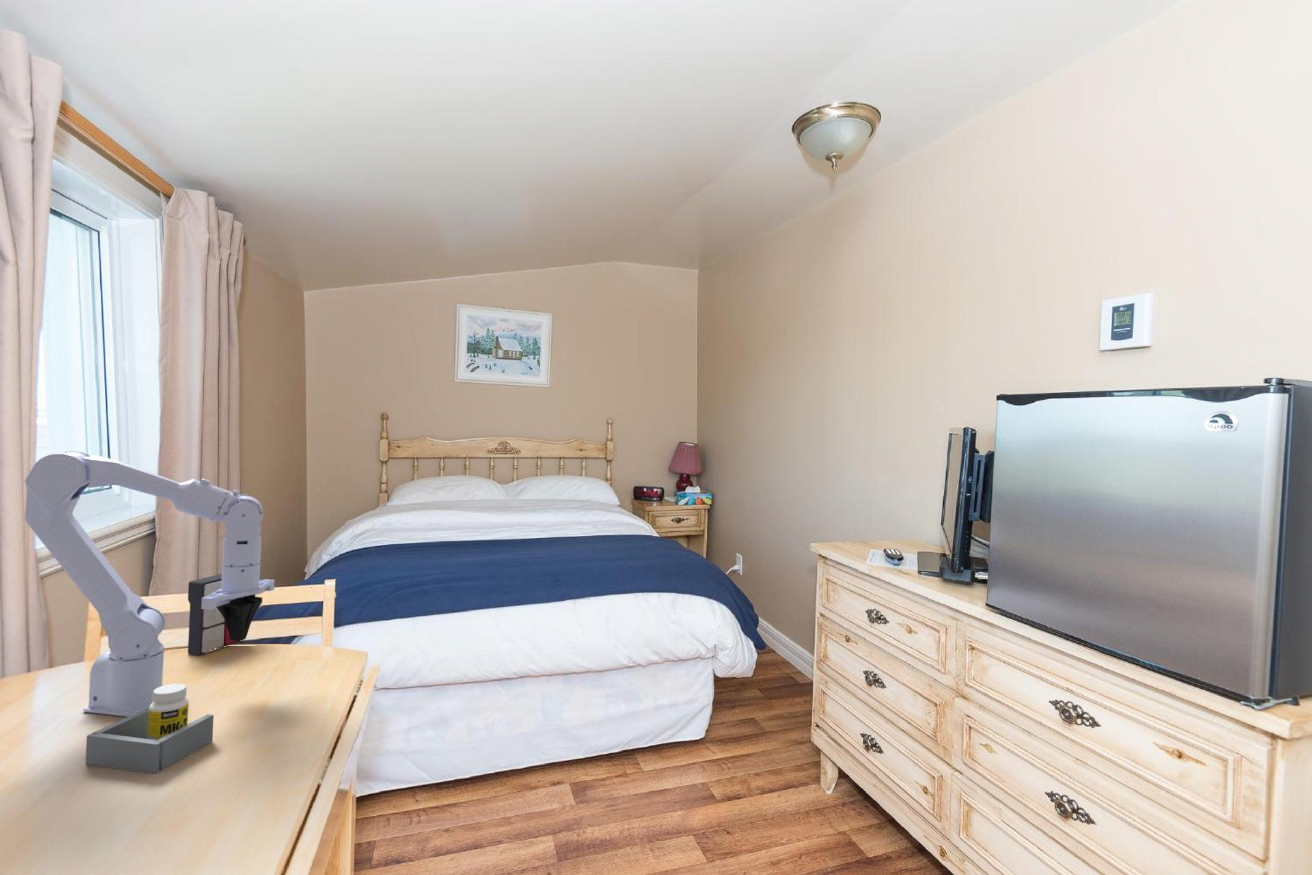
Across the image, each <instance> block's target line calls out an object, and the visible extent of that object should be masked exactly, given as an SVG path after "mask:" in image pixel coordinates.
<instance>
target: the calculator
mask: <svg viewBox="0 0 1312 875" xmlns="http://www.w3.org/2000/svg"><path fill="white" fill-rule="evenodd" d="M221 584H222V573H220V574H216V575H215V574H214V575H212V576H207V577H203V578H198V579H194V580H190V581H189V582H188V589H187V590H188V591H187V601H188V603H189V620H188V640H187V643H188V644H187V653H188V654H189V655H193V656H203V655H206V654H205V652H208V651H210V650H214V649H215V648H216V649H217V648H220V649H223V648H225V647H228V646H231V645H232V644H236V643H238V642H240V641H235V640H230V636H229V632H228V629H227V625H226V622H225V620H224V618H223V616H222V614H221V613H220V611H219V610H218V608H217V607H216V609H213V610H209V609H201V605H202V598H203V597H206V596H208V595H210V594H212V593H214V592H216V591H218V590H220V589H221ZM217 650H218V649H217ZM214 651H215V650H214ZM202 654H203V655H202Z"/></svg>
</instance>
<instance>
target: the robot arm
mask: <svg viewBox="0 0 1312 875" xmlns="http://www.w3.org/2000/svg"><path fill="white" fill-rule="evenodd" d="M24 482H25V487H26V498H25V499H26V500H25V501H26V502H25V515H24V516H25V517H24V518H25V521H26V523H27V525H28V526H29V528H30V529H31V530H32V532H34V534H35V535H36V537H37V538H38V539H39V540H40V542H41V543H42V544H43V545H44V546H45V548H46V549H47V550H48V551H49V553H50V554H51V555H52V556H53V558H54V559H55V560H56V562H57V563H58V564H59V565H60V566H61V568H62V569H63V570H64V572H66V573H65V574H67V575H68V576H69V578H70V579H71V580H72V582H73V583H74V584H75V585H76V587H77V588H78V589H79V590H80V592H81V593H82V594H83V595H84V597H85V598H86V599H87V601H89V603H90V604H91V605H92V607H93V608H94V610H96V612H97V613H98V618H99V622H100V625H101V628H102V629H103V630H104V632H105V633H106V634H107V640H108V641H107V643H108V648H109V650H107V651H106V652H104V653H102V654H101V655H99V656H98V657H96V659H95V661H94V662H93V664H92V665H91V669H90V672H89V687H88V689H89V691H88V692H89V693H88V706H85V707H84V708H82V710H83V712H85V713H95V714H100V715H101V714H102V715H103V714H104V715H109V716H118V717H125V718H127V717H129V716H131V715H134V714H136V713H138V712H140V711H142V710H145V709H147V708H149V706H150V705H151V704H152V703H153V691H154V690H155V689H156V688H158V687H161V686H163V678H164V676H163V675H164V674H163V673H164V657H165V656H164V653H165V646H164V644H162V643H161V641H160V640H159V636H160V634H161V633H162V632H163V630H164V628H165V624H166V618H165V616H164V614H163V613H162V612H161V611H160V610H159V609H157V608H156V607H152V606H151V605H149V604H147V603H146V602H145V601H144V599H143V598H142V597H141V596H140V595H137V594H135V592H133V591H132V590H131V589H130V588H129V586H128V585H127V584H126V582H125V581H124V580H123V578H122V577H121V576H120V575H119V573H118V572H117V571H116V569H115V568H114V567H113V566H112V564H111V563H110V562H109V560H108V559H107V557H105V554H103V552H102V551H101V550H100V548H98V546H97V545H96V543H95V541H93V540H92V538H91V537H90V536H89V535H88V533H87V532H86V530H85V529H84V528H83V527H82V525H81V524H80V522H79V521H78V520H77V519H76V517H75V516H74V515H73V513H74V509H75V507H76V506H77V504H78V502H79V499H80V497H81V494H83V493H84V491H85V490H86V489H88V488H89V489H90V488H100V487H107V486H108V487H109V486H119V487H122V488H125V489H130V490H134V491H136V492H139V493H143V494H148V495H152V496H155V497H159V498H162V499H165V500H169V501H170V502H172V503H173V505H174V507H175V509H176V511H178V512H181V513H185V514H189V515H191V516H195V517H198V518H202V519H205V520H208V521H212V522H214V523H219V522H224V524H225V537H224V538H223V548H222V566H221V567H222V568H221V569H222V570H221V574H222V584H221V589H220V590H218V591H216V592H214V593H212V594H210V595H208V596H206V597H203V598H202V605H201V609H209V610H213V609H216V607H217V608H218V610H219V611H220V613H221V614H222V616H223V618H224V620H225V622H226V625H227V629H228V632H229V636H230V640H235V641H239V642H241V641H243V640H246V638H247V636H248V634H249V630H250V627H251V624H252V621H253V619H254V616H255V614H256V612H257V611H258V609H259V608H260V607H261V605H262V603H263V597H261V596H258V595H260V594H263V593H264V592H273V591H275V579H267V578H265V579H261V580H260V577H261V576H260V575H261V572H260V571H261V554H262V537H261V533H262V527H261V524H262V521H263V519H264V516H265V515H264V509H263V505H262V503H261V502H260V500H258V499H257V498H255V497H253V496H252V495H250V494H240V491H239V490H236V489H233V491H231V490H228V489H224V488H222V487H219V486H216V485H212V484H210V483H211V480H208V479H206V478H202V479H201V480H197V479H189V480H187V481H184V482H179V481H175V480H173V479H170V478H167V477H165V476H162V475H159V474H156V473H153V472H152V471H151V472H150V471H148V470H144V469H141V468H139V467H136V466H134V465H130V464H128V463H126V462H123V461H119V460H116V459H112V458H108V457H104V456H100V455H95V454H94V455H90V454H88V453H85V452H83V451H78V450H67V451H64V452H59V453H52V454H51V453H50V454H47V455H45V456H43V457H41V458H40V459H38V460H37V461H36V462H35V463H34V465H33V466H32V468H31V470H30V472H29V473H28V475H27V477H25V480H24ZM256 595H257V596H256Z"/></svg>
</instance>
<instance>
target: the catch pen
mask: <svg viewBox="0 0 1312 875" xmlns="http://www.w3.org/2000/svg"><path fill="white" fill-rule="evenodd" d="M148 714H149V708H147V709H145V710H142V711H140V712H138V713H136V714H134V715H131V716H129V717H125V718H123V719H120V720H119V721H115V722H114V723H111V724H109V725H107V726H105V727H103V728H100V729H98V730H96V731H94V732H92V733H90V734H87V735H86V746H85V747H86V748H85V765H88V766H89V765H90V766H97V767H103V768H104V767H105V768H109V769H110V768H111V769H118V770H124V771H132V772H133V771H134V772H142V773H148V774H154V775H155V774H157V773H159V772H161V771H163V770H164V769H166V768H168V767H170V766H171V765H173V764H175V763H177V762H179V761H180V760H182V759H184V758H185V757H187V756H189V755H190V754H193V753H194V752H196V751H198V750H200V749H201V748H203V747H205V746H206V745H208V744H210V743H212V742H213V740H214V739H213V737H214V736H213V734H214V715H215V714H210V713H209V714H208V713H207V714H205V715H204V716H202V717H199V718H197V719H196V720H194V721H192V722H190V723H187V725H186V726H184V727H182V728H180V729H178V730H176V731H174V732H172V733H170V734H168V735H166V736H164V737H162V738H160V739H158V740H151V739H147V731H148Z"/></svg>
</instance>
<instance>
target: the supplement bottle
mask: <svg viewBox="0 0 1312 875" xmlns="http://www.w3.org/2000/svg"><path fill="white" fill-rule="evenodd" d="M186 696H187V685H186V684H184V683H171V684H170V683H169V684H166V685H162V686H161V687H158V688H156V689H155V690H154V691H153V703H152V704H151V705H150V706H149V714H148V731H147V738H146V739H151V740H158V739H160V738H162V737H164V736H166V735H168V734H170V733H172V732H174V731H176V730H178V729H180V728H182V727H184V726H186V725H188V724H189V723H188V722H189V720H188V719H189V705H190V704H189V702H190V701H189V698H188V697H186Z"/></svg>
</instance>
